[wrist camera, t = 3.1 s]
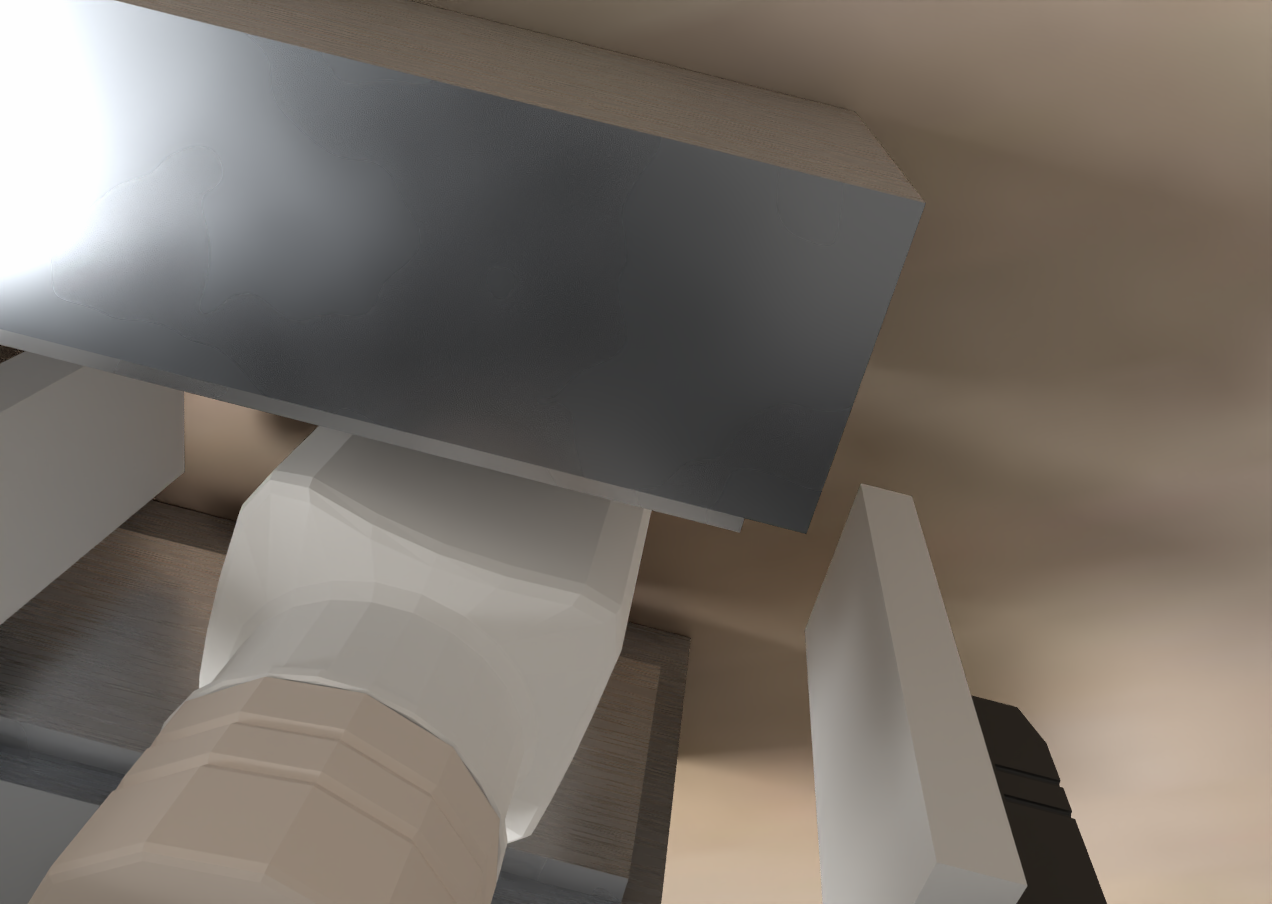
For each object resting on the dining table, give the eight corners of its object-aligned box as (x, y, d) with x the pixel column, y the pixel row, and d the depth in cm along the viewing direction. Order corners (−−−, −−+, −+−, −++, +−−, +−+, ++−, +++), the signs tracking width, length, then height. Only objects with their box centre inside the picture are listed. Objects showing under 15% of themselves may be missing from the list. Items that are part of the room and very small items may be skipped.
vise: (-83, 569, 18) (-441, 816, 13) (-206, -153, 12) (-935, -263, 7) (652, 759, 18) (605, 1089, 12) (854, 112, 12) (926, 202, 7)
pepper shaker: (686, 381, 14) (575, 947, 6) (599, 578, 16) (418, 1227, 8) (442, 281, 14) (-40, 720, 6) (381, 493, 16) (-54, 1065, 7)
